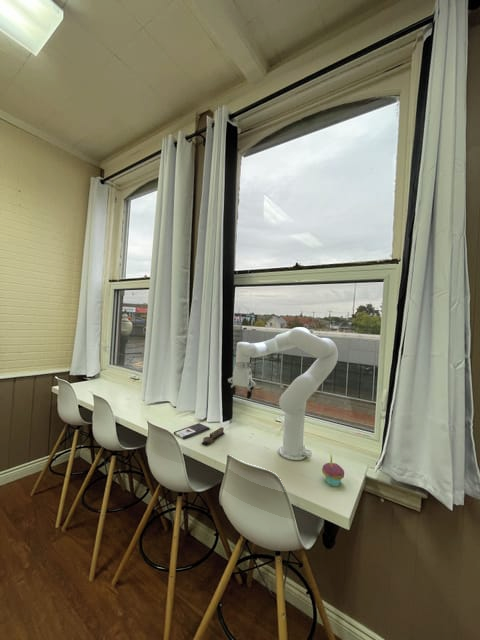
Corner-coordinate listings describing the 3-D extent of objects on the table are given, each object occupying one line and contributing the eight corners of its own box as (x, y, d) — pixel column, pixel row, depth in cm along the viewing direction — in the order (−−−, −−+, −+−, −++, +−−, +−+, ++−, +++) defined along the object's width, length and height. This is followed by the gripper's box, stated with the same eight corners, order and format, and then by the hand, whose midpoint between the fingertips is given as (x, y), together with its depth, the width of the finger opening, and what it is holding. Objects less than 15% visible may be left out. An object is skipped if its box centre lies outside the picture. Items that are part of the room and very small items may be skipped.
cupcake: (335, 491, 101) (336, 460, 101) (317, 480, 107) (318, 450, 108) (348, 484, 106) (349, 454, 106) (329, 473, 112) (331, 445, 113)
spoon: (218, 431, 148) (219, 426, 148) (225, 433, 146) (226, 428, 146) (201, 441, 134) (201, 436, 134) (208, 444, 132) (209, 438, 132)
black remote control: (220, 432, 148) (220, 431, 148) (224, 434, 146) (224, 432, 146) (201, 444, 133) (201, 442, 133) (206, 445, 132) (206, 444, 132)
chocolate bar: (209, 427, 152) (184, 437, 138) (209, 429, 152) (184, 439, 138) (199, 423, 157) (174, 431, 143) (198, 424, 157) (173, 433, 143)
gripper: (260, 366, 142) (258, 397, 142) (232, 362, 151) (231, 392, 151) (253, 367, 136) (252, 401, 136) (225, 363, 144) (223, 395, 144)
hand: (241, 396), depth 143 cm, fingers open, 9 cm apart
